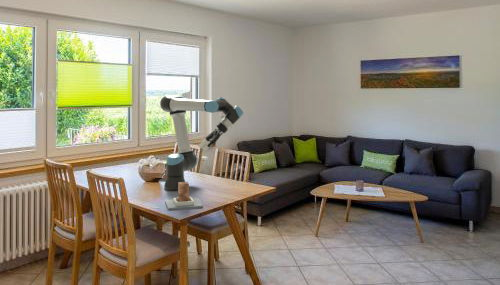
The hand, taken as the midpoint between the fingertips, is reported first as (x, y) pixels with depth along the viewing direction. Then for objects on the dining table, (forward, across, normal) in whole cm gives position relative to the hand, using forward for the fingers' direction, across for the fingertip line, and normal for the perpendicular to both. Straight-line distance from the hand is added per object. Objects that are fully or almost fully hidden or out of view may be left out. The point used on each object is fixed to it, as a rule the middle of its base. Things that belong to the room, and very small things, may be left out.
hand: (201, 148), depth 264 cm
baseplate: (+32, -25, -10) cm, 42 cm away
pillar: (+31, -25, -9) cm, 41 cm away
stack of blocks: (+33, +52, -9) cm, 63 cm away
